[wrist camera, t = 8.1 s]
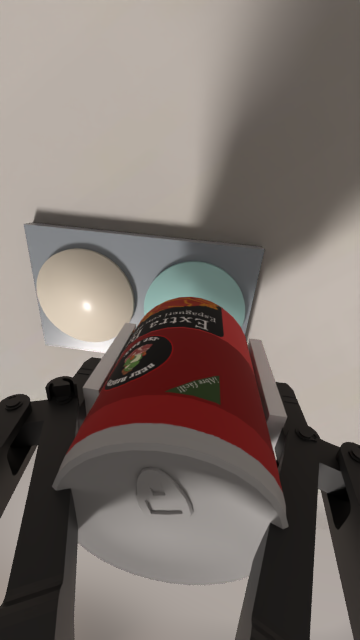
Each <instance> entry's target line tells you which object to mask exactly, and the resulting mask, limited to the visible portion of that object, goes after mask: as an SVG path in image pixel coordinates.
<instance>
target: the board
mask: <svg viewBox="0 0 360 640" xmlns="http://www.w3.org/2000/svg"><path fill="white" fill-rule="evenodd" d="M24 228H25V234H26V239H27V245H28V250H29V256H30V261H31V267H32V273H33V278H34V284H35V289H36V295H37V300H38V306H39V311H40V317H41V322H42V328H43V334H44V339H45V345H49V346H57V347H64V348H72V349H80V350H87V351H95V352H102V353H106V351H107V350H108V348H109V347H110V345H111V344H112V342H113V341H114V339H115V338H116V336H117V335H118V333H119V332H120V330H121V329H122V327H123V326H124V324H125V323H132V324H136V328H137V326H138V325H139V323H140V321H141V320H142V319H143V317H144V316H145V315H144V301H145V296H146V293H147V291H148V289H149V287H150V285H151V284H152V282H153V281H154V280H155V278H156V277H157V276H158V275H159V274H160V273H161V272H163V271H164V270H165V269H167V268H169V267H171V266H173V265H175V264H178V263H182V262H188V261H200V262H206V263H210V264H213V265H215V266H217V267H219V268H221V269H223V270H224V271H226V272H227V273H228V274H229V275H230V276H231V277H232V278H233V279H234V280H235V281H236V283H237V284H238V286H239V288H240V290H241V292H242V295H243V298H244V303H245V318H244V322H243V325H242V327H241V329H242V331H243V333H244V335H245V332H246V328H247V324H248V319H249V315H250V311H251V306H252V302H253V298H254V293H255V289H256V285H257V280H258V276H259V272H260V267H261V263H262V259H263V254H264V250H265V249H264V248H263V247H260V246H250V245H241V244H231V243H222V242H212V241H203V240H193V239H184V238H174V237H165V236H155V235H146V234H136V233H127V232H117V231H108V230H98V229H89V228H80V227H70V226H61V225H51V224H42V223H27V224H24Z"/></svg>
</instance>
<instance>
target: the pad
mask: <svg viewBox="0 0 360 640" xmlns="http://www.w3.org/2000/svg"><path fill="white" fill-rule="evenodd" d="M178 297H197V298H202V299H205V300H208V301H211V302H213V303H215V304H217V305H219V306H220V307H222V308H223V309H224V310H226V311H227V312H228V313H229V314H230V315H231V316H233V317H234V319H235V320H236V321H237V323H238V324H239V325H240V327H242V325H243V322H244V318H245V303H244V298H243V295H242V292H241V290H240V288H239V286H238V284H237V283H236V281H235V280H234V279H233V278H232V277H231V276H230V275H229V274H228V273H227V272H226V271H224V270H223V269H221V268H219V267H217V266H215V265H213V264H210V263H206V262H200V261H188V262H182V263H178V264H175V265H173V266H171V267H169V268H167V269H165V270H164V271H163V272H161V273H160V274H159V275H158V276H157V277H156V278H155V280H154V281H153V282H152V284H151V285H150V287H149V289H148V291H147V293H146V296H145V301H144V315H146V314H147V313H148V312H149V311H150V310H151V309H153V308H154V307H155V306H157V305H159V304H161V303H163V302H165V301H168V300H171V299H175V298H178Z"/></svg>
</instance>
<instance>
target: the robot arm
mask: <svg viewBox="0 0 360 640" xmlns="http://www.w3.org/2000/svg"><path fill="white" fill-rule="evenodd" d="M135 330H136V324H132V323H125V324H124V326H123V327H122V329H121V330H120V332H119V333H118V335H117V336H116V338H115V339H114V341H113V342H112V344H111V345H110V347H109V348H108V350H107V351H106V353H105V354H104V356H103V357H102V359H100V358H93V357H92V358H90V359H89V360H87V361H85V362H84V364H83V365H82V366H81V368H80V369H79V370H78V372H77V374H75V376H74V377H73V378H72V377H69V376H62V377H58V378H55V379H53V380H51V381H50V382H49V383H48V384H47V385H46V387H45V388H46V393H47V398H48V400H42V401H32V402H30V398H29V397H28V396H27V395H24V394H16V395H12V396H9V397H7V398H5V399H3V400H2V401H1V402H0V518H1V516H2V514H3V512H4V510H5V508H6V506H7V504H8V502H9V500H10V498H11V496H12V494H13V492H14V490H15V488H16V486H17V484H18V482H19V481H20V478H21V477H22V474H23V473H24V471H25V469H26V467H27V465H28V463H29V461H30V459H31V457H32V455H33V453H34V451H35V449H36V447H37V445H38V449H37V454H36V459H35V463H34V468H33V472H32V477H31V482H30V486H29V491H28V496H27V500H26V505H25V509H24V514H23V518H22V523H21V528H20V532H19V537H18V541H17V546H16V550H15V555H14V560H13V564H12V569H11V573H10V578H9V583H8V587H7V592H6V595H5V599H4V601H3V603H2V605H1V606H0V640H74V602H75V583H76V563H77V544H78V524H77V518H76V511H75V505H74V500H73V495H72V491H71V488H69V489H63V490H57V491H56V490H55V489H54V488H53V487H52V485H53V483H54V480H55V478H56V476H57V474H58V472H59V468H60V466H61V464H62V462H63V459H64V457H65V455H66V453H67V451H68V449H69V448H70V446H71V444H72V442H73V441H74V439H75V437H76V435H77V433H78V431H79V429H80V427H81V425H82V423H83V421H84V420H85V418H86V416H87V414H88V413H89V411H90V409H91V407H92V406H93V404H94V402H95V400H96V399H97V397H98V395H99V393H100V391H101V390H102V388H103V386H104V384H105V383H106V381H107V379H108V377H109V376H110V374H111V372H112V370H113V369H114V367H115V365H116V363H117V362H118V360H119V358H120V356H121V354H122V353H123V351H124V349H125V347H126V346H127V344H128V342H129V340H130V339H131V337H132V335H133V333H134V332H135ZM248 350H249V354H250V358H251V362H252V366H253V370H254V374H255V378H256V382H257V386H258V390H259V394H260V398H261V402H262V407H263V411H264V415H265V419H266V423H267V427H268V431H269V435H270V439H271V443H272V447H273V451H275V453H276V457H277V460H276V464H277V468H278V472H279V478H280V483H281V487H282V491H283V496H284V500H285V504H286V518H287V522H288V526H289V527H287V528H285V529H282V528H280V527H278V526H276V525H274V524H272V523H270V524H269V526H268V528H267V530H266V532H265V534H264V536H263V538H262V540H261V542H260V545H259V547H258V549H257V552H256V554H255V556H254V559H253V562H252V566H251V571H250V575H249V580H248V584H247V588H246V593H245V598H244V602H243V606H242V610H241V615H240V619H239V624H238V628H237V633H236V637H235V640H310V621H311V603H312V586H313V567H314V549H315V530H316V513H317V495H318V489H320V490H321V493H322V498H323V502H324V507H325V511H326V516H327V520H328V525H329V529H330V534H331V538H332V542H333V547H334V551H335V556H336V561H337V565H338V570H339V574H340V579H341V583H342V588H343V592H344V597H345V601H346V606H347V610H348V615H349V620H350V624H351V629H352V633H353V637H354V640H360V445H358V444H355V443H351V442H345V443H343V444H342V445H341V447H338V446H335V445H333V444H330V443H328V442H325V441H323V440H321V439H320V437H319V435H318V434H317V432H316V431H315V430H314V429H312V428H311V427H309V426H308V425H307V423H306V420H305V418H304V415H303V413H302V410H301V408H300V406H299V405H298V401H297V399H296V396H295V394H294V391H293V390H292V389H291V388H290V386H289V385H288V384H286V383H279V382H275V379H274V377H273V374H272V371H271V368H270V365H269V362H268V359H267V356H266V353H265V350H264V347H263V344H262V341H261V340H257V339H249V343H248Z"/></svg>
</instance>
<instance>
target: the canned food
mask: <svg viewBox="0 0 360 640" xmlns="http://www.w3.org/2000/svg"><path fill="white" fill-rule="evenodd" d="M52 487H53V488H54V489H55V490H56V491H57V490H63V489H69V488H71V491H72V495H73V500H74V505H75V511H76V518H77V524H78V543H79V544H80V545H81V546H82V547H83V548H85V549H86V550H87V551H88V552H90V553H91V554H93V555H94V556H96V557H97V558H99V559H101V560H103V561H104V562H106V563H109V564H110V565H113V566H114V567H116V568H119V569H121V570H124V571H126V572H129V573H132V574H134V575H138V576H141V577H145V578H149V579H152V580H157V581H162V582H167V583H174V584H184V585H212V584H223V583H227V582H232V581H236V580H241V579H243V578H246V577H249V575H250V571H251V566H252V562H253V559H254V556H255V554H256V552H257V549H258V547H259V545H260V542H261V540H262V538H263V536H264V534H265V532H266V530H267V528H268V526H269V524H270V523H272V524H274V525H276V526H278V527H280V528H282V529H285V528H287V527H289V526H288V522H287V518H286V504H285V500H284V496H283V491H282V487H281V483H280V478H279V472H278V468H277V464H276V459H275V455H274V451H273V447H272V443H271V439H270V435H269V431H268V427H267V423H266V419H265V415H264V411H263V407H262V402H261V398H260V394H259V390H258V386H257V382H256V378H255V374H254V370H253V366H252V362H251V358H250V354H249V350H248V346H247V342H246V338H245V335H244V333H243V331H242V329H241V327H240V325H239V324H238V323H237V321H236V320H235V319H234V317H233V316H231V315H230V314H229V313H228V312H227V311H226V310H224V309H223V308H222V307H220V306H219V305H217V304H215V303H213V302H211V301H208V300H205V299H202V298H197V297H178V298H175V299H171V300H168V301H165V302H163V303H161V304H159V305H157V306H155V307H154V308H153V309H151V310H150V311H149V312H148V313H147V314H146V315H145V316H144V317H143V319H142V320H141V321H140V323H139V325H138V326H137V328H136V330H135V332H134V333H133V335H132V337H131V339H130V340H129V342H128V344H127V346H126V347H125V349H124V351H123V353H122V354H121V356H120V358H119V360H118V362H117V363H116V365H115V367H114V369H113V370H112V372H111V374H110V376H109V377H108V379H107V381H106V383H105V384H104V386H103V388H102V390H101V391H100V393H99V395H98V397H97V399H96V400H95V402H94V404H93V406H92V407H91V409H90V411H89V413H88V414H87V416H86V418H85V420H84V421H83V423H82V425H81V427H80V429H79V431H78V433H77V435H76V437H75V439H74V441H73V442H72V444H71V446H70V448H69V449H68V451H67V453H66V455H65V457H64V459H63V462H62V464H61V466H60V468H59V472H58V474H57V476H56V478H55V480H54V483H53V485H52Z"/></svg>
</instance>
